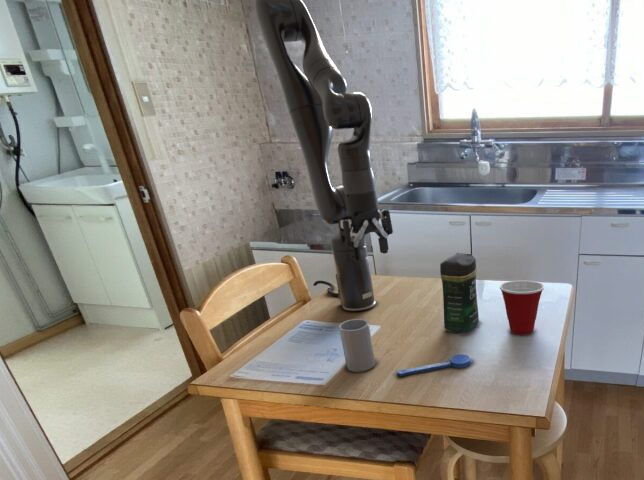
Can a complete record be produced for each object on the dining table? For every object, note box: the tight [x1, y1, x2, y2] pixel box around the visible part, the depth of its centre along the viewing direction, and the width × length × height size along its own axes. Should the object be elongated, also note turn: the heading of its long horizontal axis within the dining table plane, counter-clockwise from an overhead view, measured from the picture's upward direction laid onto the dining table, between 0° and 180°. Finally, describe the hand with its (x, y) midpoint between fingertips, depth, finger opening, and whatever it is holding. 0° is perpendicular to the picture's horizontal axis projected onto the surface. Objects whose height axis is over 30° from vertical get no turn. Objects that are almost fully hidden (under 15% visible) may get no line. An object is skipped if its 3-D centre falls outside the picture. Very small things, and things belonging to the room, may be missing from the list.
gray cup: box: [338, 318, 376, 373], centre depth 115 cm, size 6×6×10 cm
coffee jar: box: [439, 252, 480, 334], centre depth 129 cm, size 10×8×19 cm
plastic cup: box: [499, 279, 545, 336], centre depth 127 cm, size 11×11×12 cm
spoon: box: [396, 353, 472, 377], centre depth 115 cm, size 17×5×1 cm, turn 108°
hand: (371, 257), depth 130 cm, fingers open, 8 cm apart
